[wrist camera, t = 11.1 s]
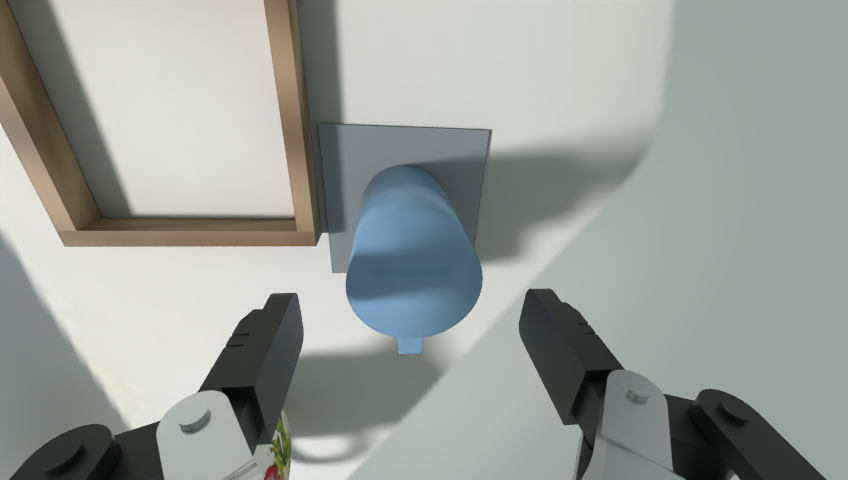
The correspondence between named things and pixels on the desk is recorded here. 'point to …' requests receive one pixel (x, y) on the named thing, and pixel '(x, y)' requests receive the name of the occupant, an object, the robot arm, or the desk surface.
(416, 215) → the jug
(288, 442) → the pitcher
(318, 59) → the desk surface
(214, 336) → the desk surface
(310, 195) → the holder
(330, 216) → the mat
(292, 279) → the desk surface
